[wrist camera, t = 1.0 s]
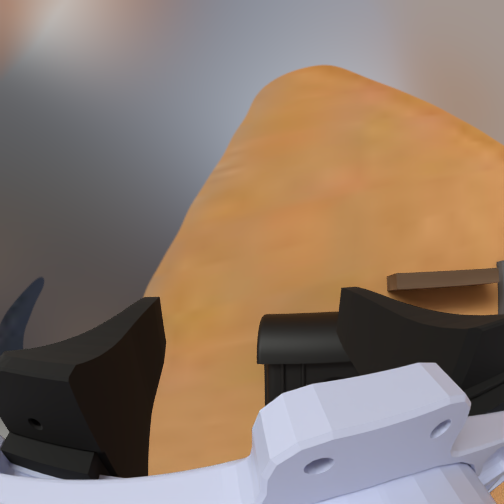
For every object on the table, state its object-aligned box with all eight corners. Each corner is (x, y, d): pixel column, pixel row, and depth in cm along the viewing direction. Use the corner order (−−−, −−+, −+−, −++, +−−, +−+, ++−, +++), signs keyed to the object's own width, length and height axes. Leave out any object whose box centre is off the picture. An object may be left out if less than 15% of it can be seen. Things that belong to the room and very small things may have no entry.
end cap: (386, 306, 24) (411, 308, 17) (385, 387, 23) (407, 412, 16) (269, 312, 26) (255, 316, 19) (270, 392, 25) (257, 420, 18)
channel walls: (475, 400, 20) (490, 409, 18) (381, 416, 22) (389, 428, 19) (482, 271, 22) (498, 267, 19) (387, 276, 24) (396, 273, 21)
